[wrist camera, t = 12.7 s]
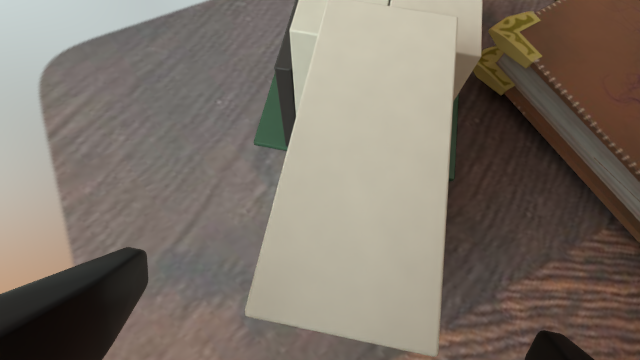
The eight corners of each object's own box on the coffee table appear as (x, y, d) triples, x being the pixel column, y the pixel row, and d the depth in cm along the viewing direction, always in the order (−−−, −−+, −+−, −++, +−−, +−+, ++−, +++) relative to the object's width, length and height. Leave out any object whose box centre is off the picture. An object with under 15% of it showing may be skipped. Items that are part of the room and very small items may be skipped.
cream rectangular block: (357, 339, 14) (439, 357, 5) (286, 324, 15) (242, 315, 5) (380, 184, 17) (459, 16, 8) (319, 173, 17) (327, -6, 8)
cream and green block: (452, 181, 17) (557, 71, 10) (254, 144, 18) (213, 15, 10) (459, 51, 20) (541, -105, 13) (291, 23, 21) (280, -141, 14)
